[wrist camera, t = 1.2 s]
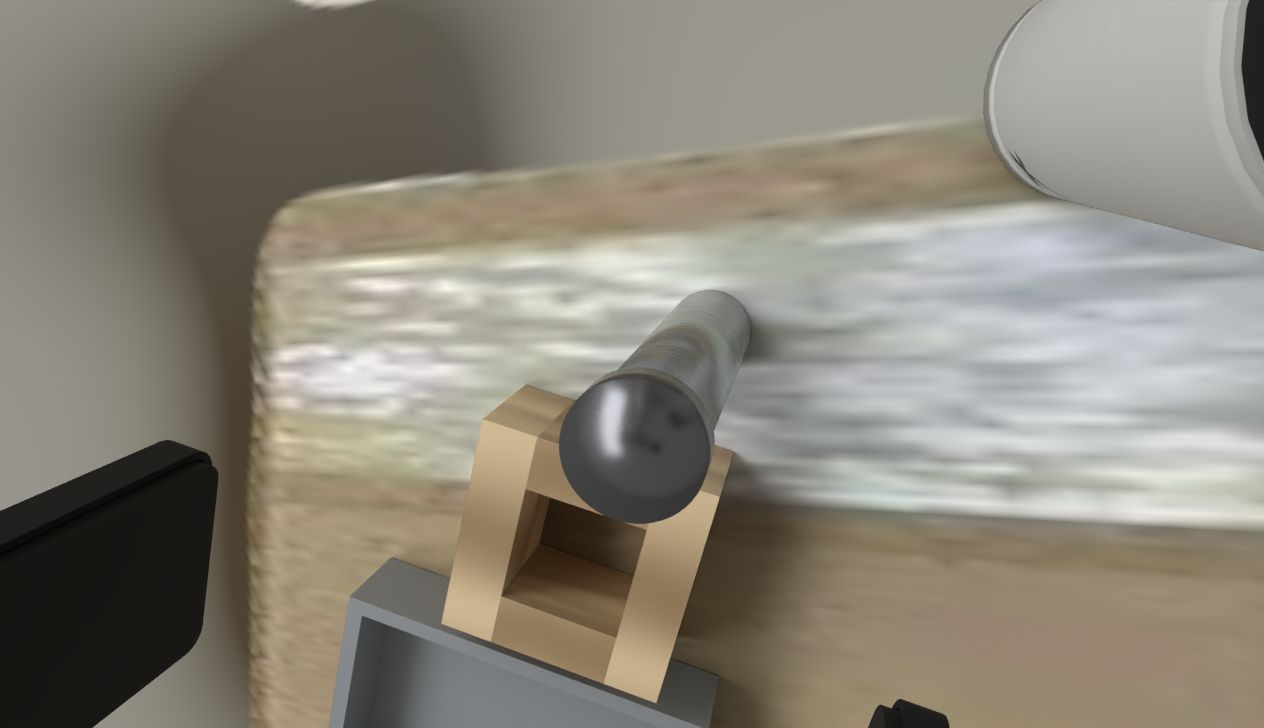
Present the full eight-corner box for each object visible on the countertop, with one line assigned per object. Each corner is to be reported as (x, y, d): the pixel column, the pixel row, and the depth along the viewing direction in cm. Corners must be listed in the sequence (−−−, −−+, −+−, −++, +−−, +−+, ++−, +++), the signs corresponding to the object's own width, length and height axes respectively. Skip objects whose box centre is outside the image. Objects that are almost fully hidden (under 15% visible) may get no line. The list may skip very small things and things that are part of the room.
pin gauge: (677, 273, 28) (577, 360, 17) (768, 299, 28) (726, 406, 17) (654, 359, 29) (545, 496, 18) (741, 386, 29) (685, 543, 18)
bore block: (525, 385, 31) (482, 419, 27) (733, 451, 30) (719, 496, 26) (485, 568, 33) (441, 623, 29) (676, 637, 32) (656, 703, 28)
